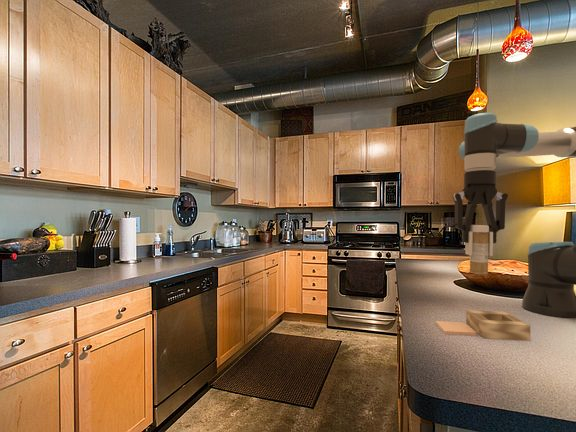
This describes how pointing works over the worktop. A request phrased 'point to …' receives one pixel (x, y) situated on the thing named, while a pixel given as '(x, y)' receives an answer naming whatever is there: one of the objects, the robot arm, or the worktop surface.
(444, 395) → the worktop surface
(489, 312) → the socket block
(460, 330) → the terracotta tile
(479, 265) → the sprinkles bottle
